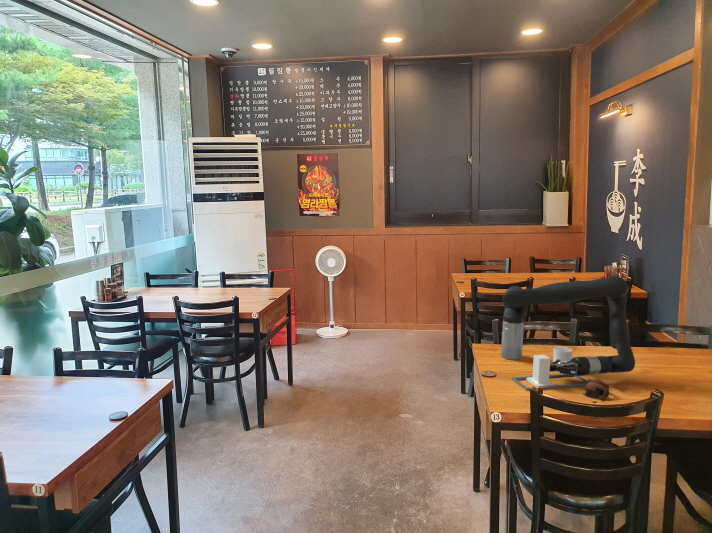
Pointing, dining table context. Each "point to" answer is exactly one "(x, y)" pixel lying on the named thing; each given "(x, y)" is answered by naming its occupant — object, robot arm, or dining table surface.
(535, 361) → the slider post
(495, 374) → the dining table surface
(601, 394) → the dark brown lump
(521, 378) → the grey rectangular frame
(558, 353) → the white cup
